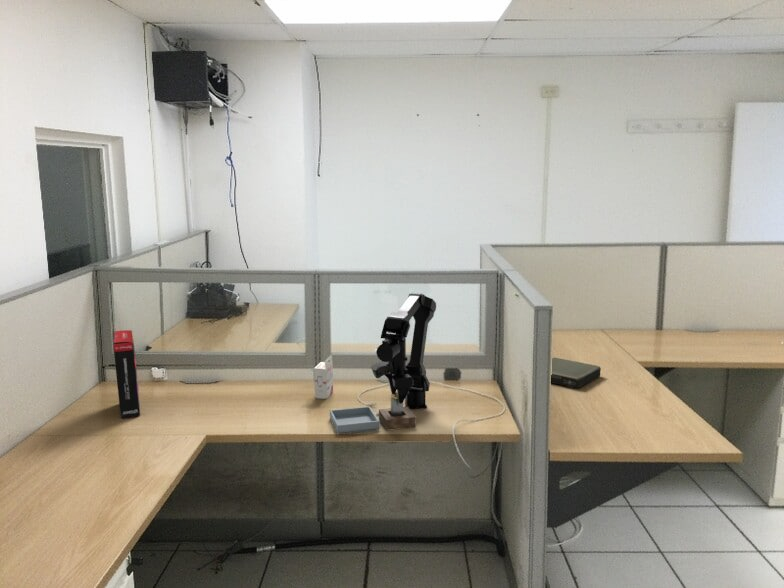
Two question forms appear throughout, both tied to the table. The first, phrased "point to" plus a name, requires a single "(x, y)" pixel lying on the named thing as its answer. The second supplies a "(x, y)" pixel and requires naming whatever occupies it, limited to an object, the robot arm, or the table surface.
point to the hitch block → (397, 419)
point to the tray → (354, 420)
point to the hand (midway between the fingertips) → (397, 398)
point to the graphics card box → (126, 373)
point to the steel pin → (396, 406)
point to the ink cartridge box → (323, 379)
